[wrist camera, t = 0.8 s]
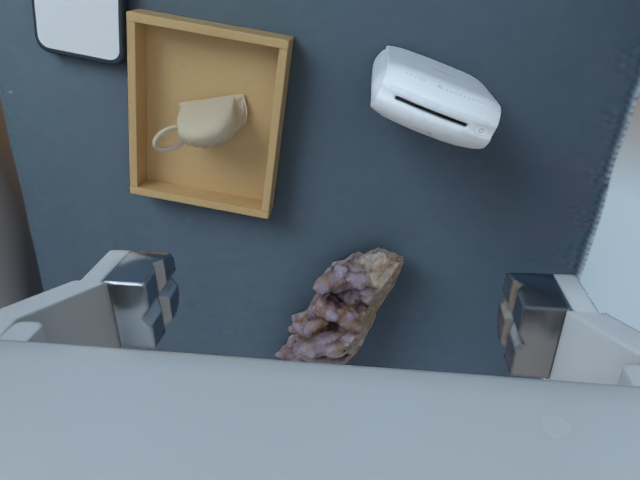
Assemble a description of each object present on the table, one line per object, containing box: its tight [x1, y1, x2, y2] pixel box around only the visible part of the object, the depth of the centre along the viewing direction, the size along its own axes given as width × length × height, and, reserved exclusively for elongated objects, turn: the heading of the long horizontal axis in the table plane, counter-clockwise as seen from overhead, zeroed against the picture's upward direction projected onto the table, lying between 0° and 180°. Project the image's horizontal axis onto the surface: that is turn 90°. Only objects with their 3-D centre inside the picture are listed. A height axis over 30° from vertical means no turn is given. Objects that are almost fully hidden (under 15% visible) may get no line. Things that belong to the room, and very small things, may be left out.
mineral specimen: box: [275, 247, 404, 365], centre depth 58 cm, size 20×10×10 cm
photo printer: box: [371, 46, 501, 149], centre depth 44 cm, size 10×4×12 cm, turn 70°
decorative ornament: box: [152, 94, 248, 152], centre depth 51 cm, size 4×8×5 cm, turn 97°
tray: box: [126, 9, 294, 219], centre depth 52 cm, size 18×15×3 cm
